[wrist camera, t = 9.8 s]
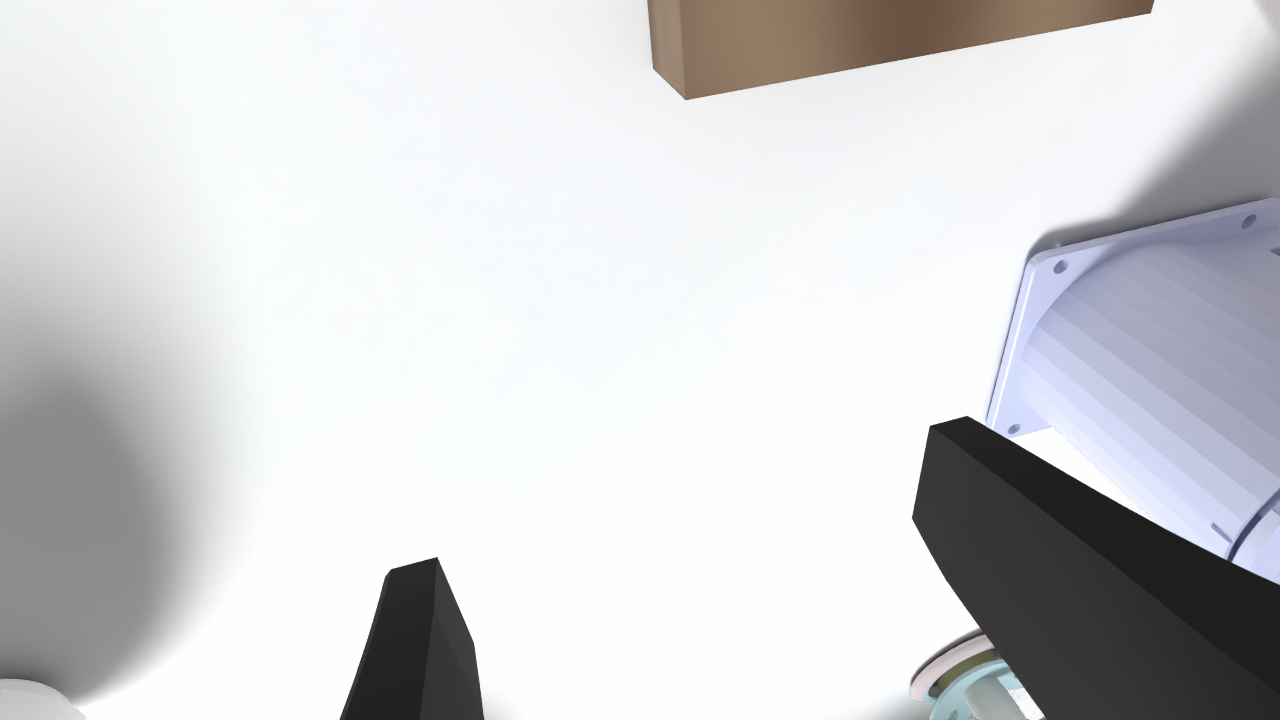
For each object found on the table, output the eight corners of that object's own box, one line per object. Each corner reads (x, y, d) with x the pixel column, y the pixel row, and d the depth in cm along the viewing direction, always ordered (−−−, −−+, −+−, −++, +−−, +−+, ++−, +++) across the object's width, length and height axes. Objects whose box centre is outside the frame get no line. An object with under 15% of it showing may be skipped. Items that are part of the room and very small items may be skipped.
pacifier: (883, 677, 38) (923, 713, 42) (952, 801, 33) (991, 830, 37) (1006, 603, 37) (1037, 647, 41) (1096, 720, 32) (1123, 759, 36)
